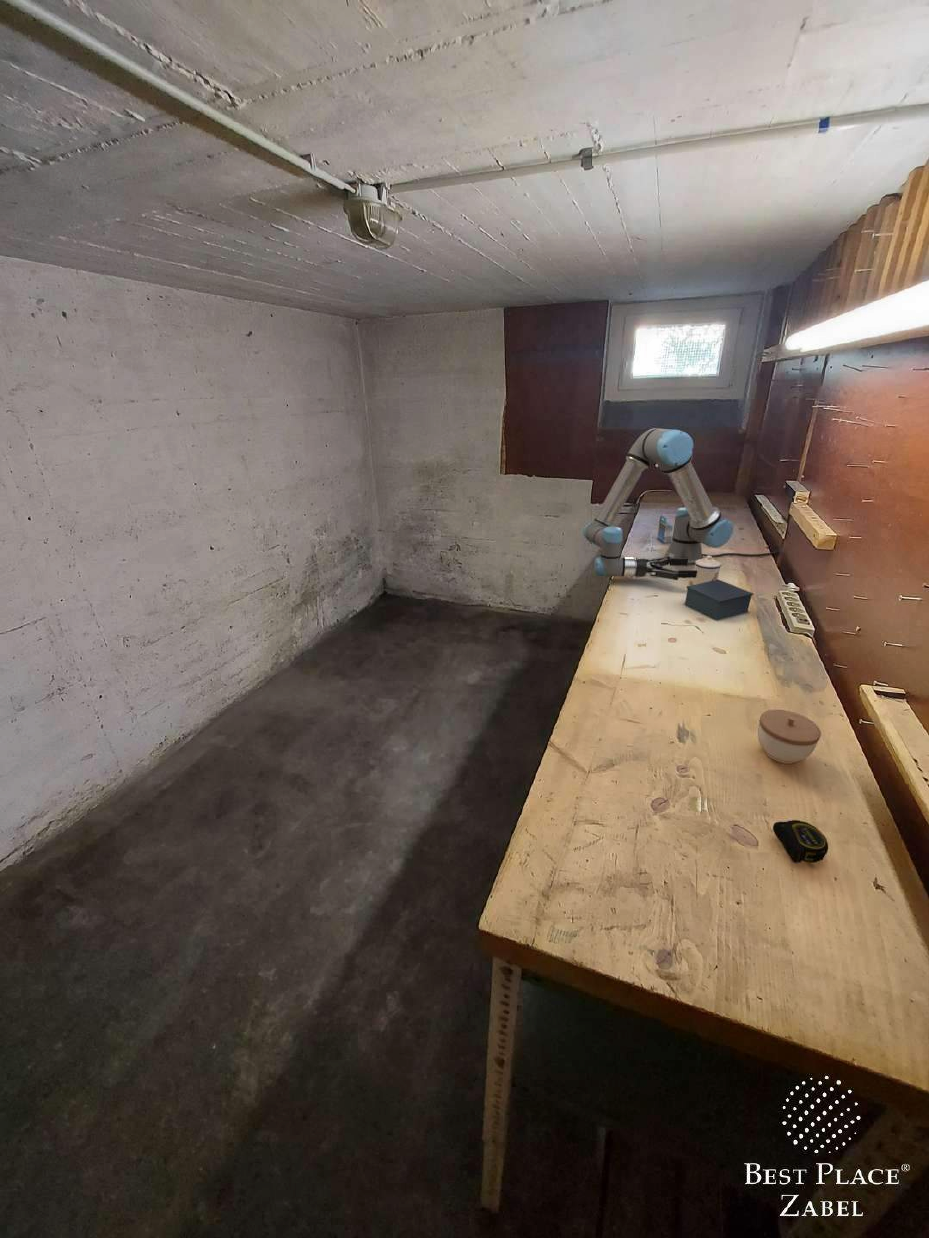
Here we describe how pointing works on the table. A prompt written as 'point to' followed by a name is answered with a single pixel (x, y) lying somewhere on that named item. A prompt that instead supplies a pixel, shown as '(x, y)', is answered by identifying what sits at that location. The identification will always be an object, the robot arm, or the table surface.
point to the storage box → (718, 599)
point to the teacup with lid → (706, 570)
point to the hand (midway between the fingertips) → (691, 568)
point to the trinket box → (787, 735)
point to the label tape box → (664, 530)
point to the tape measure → (801, 841)
